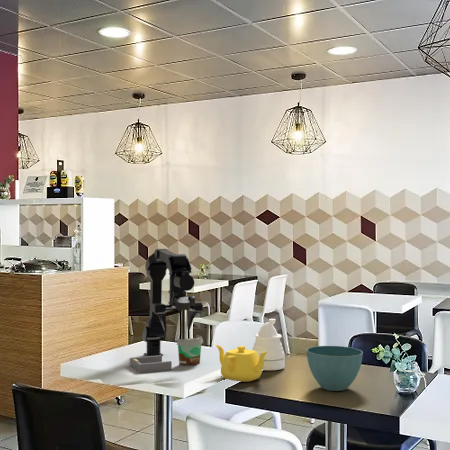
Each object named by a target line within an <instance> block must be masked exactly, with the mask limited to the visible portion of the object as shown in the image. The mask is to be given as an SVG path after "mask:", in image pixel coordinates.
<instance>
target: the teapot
mask: <svg viewBox="0 0 450 450" xmlns="http://www.w3.org/2000/svg"><path fill="white" fill-rule="evenodd" d="M215 347H216V348H217V349H218V352H219V353H218V354H219V362H220V374H221V376H222V377H223V379H225V380H228V381H229V380H230V381H235V382H244V383H247V382H248V383H249V382H252V381H255V380H258V379H259V378H260V377H261V375H262V373H263V370H262V369H263V366H264V357H265V355H266V354H267V353H268V352H263V353H261V354H260V357H259V356H258V354H257V352H256V351H253V350H252V349H246V346H245V345H239V346H237V348H233V349H229V350H227V351H226V352H225V351H224V348H223V347H222V346H221V345H219V344H218V345H217V344H215Z"/></svg>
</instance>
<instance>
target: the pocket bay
mask: <svg viewBox="0 0 450 450" xmlns="http://www.w3.org/2000/svg"><path fill="white" fill-rule="evenodd" d="M129 358H130V359H129V362H130V363H129V366H130V367H131V368H132V369H134V370H135V371H136V372H137V373H139V374H142V373H153V372H164V370H165V371H172V361H171V360H169V361H168V360H167V361H163V356H161V355H158V356H146V355H145V356H136V357H129Z"/></svg>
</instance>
